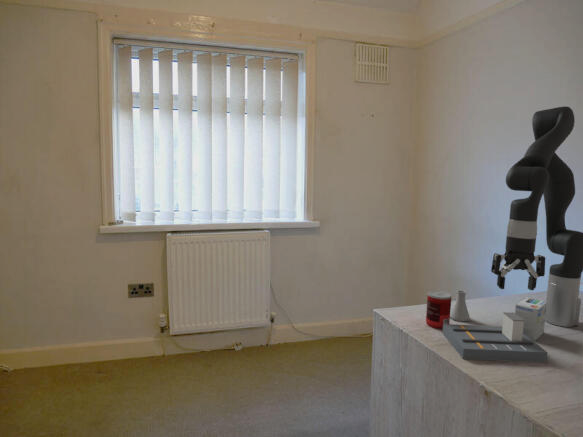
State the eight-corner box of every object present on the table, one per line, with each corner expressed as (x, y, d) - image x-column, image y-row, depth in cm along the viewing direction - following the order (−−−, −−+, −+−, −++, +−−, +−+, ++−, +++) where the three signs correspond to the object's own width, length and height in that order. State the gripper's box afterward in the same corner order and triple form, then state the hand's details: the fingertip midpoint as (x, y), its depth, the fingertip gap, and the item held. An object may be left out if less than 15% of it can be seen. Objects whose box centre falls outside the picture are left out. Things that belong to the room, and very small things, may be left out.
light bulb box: (522, 327, 138) (525, 296, 137) (544, 333, 133) (547, 301, 132) (511, 335, 131) (515, 303, 129) (535, 342, 126) (538, 309, 125)
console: (514, 335, 130) (515, 325, 130) (546, 362, 112) (547, 350, 112) (442, 332, 131) (443, 322, 131) (462, 358, 114) (463, 346, 113)
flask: (466, 315, 148) (468, 289, 147) (473, 322, 141) (475, 295, 140) (446, 314, 149) (448, 288, 147) (452, 321, 142) (454, 294, 140)
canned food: (448, 322, 141) (451, 291, 139) (449, 330, 133) (452, 298, 132) (425, 319, 143) (427, 289, 142) (425, 327, 136) (427, 295, 134)
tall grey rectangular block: (511, 333, 124) (514, 312, 123) (522, 342, 118) (524, 320, 117) (501, 332, 124) (503, 312, 124) (511, 341, 118) (513, 319, 117)
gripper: (539, 234, 121) (533, 286, 123) (490, 232, 121) (486, 284, 123) (554, 238, 113) (547, 294, 115) (502, 236, 114) (497, 291, 116)
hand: (515, 289), depth 119 cm, fingers open, 8 cm apart
